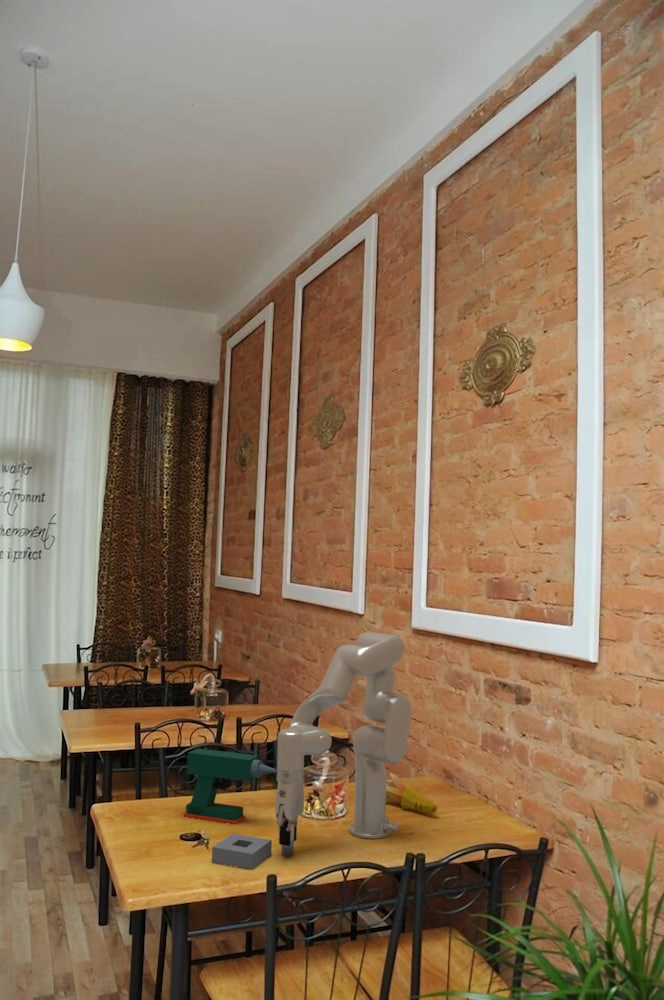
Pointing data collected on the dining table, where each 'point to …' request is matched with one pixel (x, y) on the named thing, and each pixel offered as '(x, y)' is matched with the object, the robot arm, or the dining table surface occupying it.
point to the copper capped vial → (289, 850)
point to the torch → (407, 797)
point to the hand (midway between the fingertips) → (287, 841)
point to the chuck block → (241, 851)
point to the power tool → (208, 782)
